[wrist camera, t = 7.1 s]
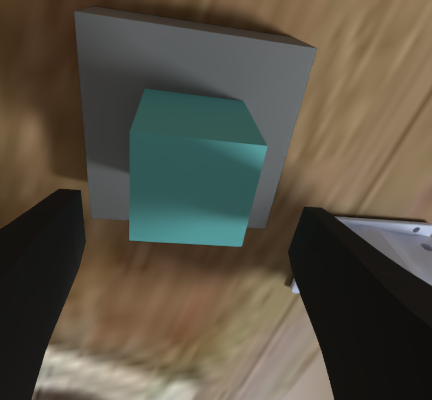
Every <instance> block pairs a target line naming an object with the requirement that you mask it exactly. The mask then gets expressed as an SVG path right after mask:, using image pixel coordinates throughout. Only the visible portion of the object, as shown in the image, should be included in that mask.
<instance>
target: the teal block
mask: <svg viewBox="0 0 432 400" xmlns="http://www.w3.org/2000/svg"><path fill="white" fill-rule="evenodd" d="M267 147H268V146H267V144H266V142H265V140H264V138H263V136H262V135H261V133H260V131H259V129H258V127H257V125H256V123H255V121H254V120H253V118H252V116H251V114H250V112H249V110H248V108H247V106H246V105H245V103H244V101H238V100H230V99H222V98H215V97H207V96H199V95H191V94H183V93H176V92H168V91H160V90H152V89H145V90H144V92H143V95H142V98H141V101H140V104H139V107H138V110H137V112H136V115H135V118H134V121H133V124H132V127H131V130H130V191H129V241H146V242H165V243H183V244H201V245H219V246H237V247H242V244H243V240H244V236H245V232H246V228H247V224H248V220H249V216H250V213H251V209H252V205H253V201H254V197H255V193H256V189H257V185H258V182H259V178H260V174H261V170H262V166H263V162H264V158H265V154H266V150H267Z"/></svg>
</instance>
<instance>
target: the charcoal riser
mask: <svg viewBox="0 0 432 400" xmlns="http://www.w3.org/2000/svg"><path fill="white" fill-rule="evenodd" d="M74 17H75V29H76V41H77V53H78V66H79V78H80V90H81V102H82V114H83V127H84V139H85V151H86V163H87V175H88V188H89V200H90V212H91V218H93V219H110V220H127V221H129V191H130V130H131V127H132V124H133V121H134V118H135V115H136V112H137V110H138V107H139V104H140V101H141V98H142V95H143V92H144V90H145V89H152V90H160V91H168V92H176V93H183V94H191V95H199V96H207V97H215V98H222V99H230V100H238V101H244V103H245V105H246V106H247V108H248V110H249V112H250V114H251V116H252V118H253V120H254V121H255V123H256V125H257V127H258V129H259V131H260V133H261V135H262V136H263V138H264V140H265V142H266V144H267V146H268V147H267V150H266V154H265V158H264V162H263V166H262V170H261V174H260V178H259V182H258V185H257V189H256V193H255V197H254V201H253V205H252V209H251V213H250V216H249V220H248V224H247V228H260V229H265V227H266V224H267V220H268V217H269V213H270V210H271V206H272V203H273V199H274V196H275V193H276V189H277V186H278V182H279V179H280V175H281V172H282V168H283V165H284V161H285V158H286V155H287V151H288V148H289V144H290V141H291V137H292V134H293V130H294V127H295V124H296V120H297V117H298V113H299V110H300V106H301V103H302V99H303V96H304V93H305V89H306V86H307V82H308V79H309V75H310V72H311V68H312V65H313V62H314V58H315V55H316V51H317V48H315V47H313V46H311V45H309V44H307V43H305V42H303V41H300V40H298V39H296V38H294V37H288V36H282V35H275V34H269V33H263V32H256V31H250V30H243V29H237V28H231V27H224V26H218V25H212V24H205V23H199V22H193V21H186V20H180V19H173V18H167V17H161V16H154V15H148V14H142V13H135V12H129V11H123V10H116V9H110V8H103V7H97V6H93V7H89V8H85V9H81V10H77V11H74Z"/></svg>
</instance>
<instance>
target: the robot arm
mask: <svg viewBox="0 0 432 400" xmlns="http://www.w3.org/2000/svg"><path fill="white" fill-rule="evenodd" d="M414 228H415V229H414ZM431 233H432V225H431V224H430V223H423V222H409V221H394V220H379V219H365V218H350V217H336V216H333V215H331V214H330V213H328V212H327V211H326V210H324V209H322V208H317V207H304V209H303V212H302V214H301V217H300V220H299V223H298V226H297V228H296V231H295V234H294V237H293V239H292V242H291V245H290V248H289V251H288V253H289V258H290V263H291V267H292V272H293V276H294V279H293V281H292V284H291V290H292V292H293V293H300V295H301V298H302V300H303V303H304V306H305V308H306V311H307V313H308V316H309V318H310V321H311V324H312V326H313V329H314V331H315V334H316V336H317V339H318V342H319V345H320V348H321V351H322V354H323V358H324V362H325V365H326V369H327V373H328V376H329V380H330V384H331V388H332V392H333V396H334V400H432V239H431V238H430V235H431ZM85 242H86V240H85V229H84V219H83V209H82V199H81V190H70V189H58V190H57V191H55V192H54V193H52V194H51V195H49V196H48V197H47V198H45V199H44V200H42V201H41V202H40V203H38V204H37V205H35V206H34V207H32V208H31V209H30V210H28V211H27V212H25V213H24V214H22V215H21V216H19V217H18V218H17V219H15V220H14V221H12V222H11V223H9V224H8V225H6V226H5V227H3V228H1V229H0V400H31V399H32V395H33V392H34V388H35V385H36V381H37V378H38V375H39V371H40V368H41V365H42V361H43V358H44V355H45V351H46V349H47V346H48V343H49V340H50V338H51V335H52V333H53V330H54V328H55V325H56V323H57V321H58V318H59V316H60V313H61V311H62V309H63V306H64V304H65V301H66V299H67V297H68V294H69V292H70V289H71V287H72V284H73V282H74V280H75V277H76V275H77V272H78V269H79V266H80V262H81V258H82V254H83V250H84V246H85Z"/></svg>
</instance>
